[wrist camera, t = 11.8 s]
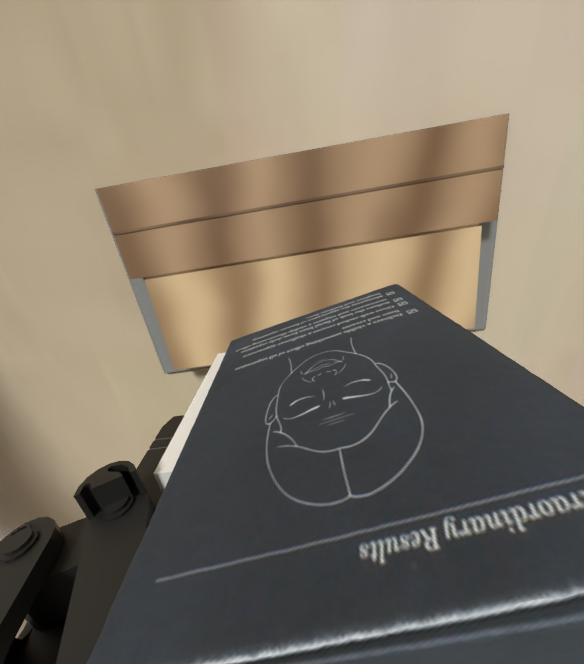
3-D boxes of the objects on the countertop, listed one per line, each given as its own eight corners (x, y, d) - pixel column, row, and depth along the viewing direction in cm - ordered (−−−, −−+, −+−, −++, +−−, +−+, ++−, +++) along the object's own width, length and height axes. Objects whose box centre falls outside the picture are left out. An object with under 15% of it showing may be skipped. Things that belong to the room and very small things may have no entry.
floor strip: (140, 275, 22) (129, 279, 21) (109, 190, 20) (95, 188, 19) (483, 219, 21) (497, 220, 19) (492, 120, 18) (509, 113, 17)
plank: (181, 361, 25) (174, 370, 24) (152, 273, 22) (143, 277, 21) (463, 322, 24) (474, 328, 22) (469, 222, 21) (482, 222, 19)
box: (275, 429, 15) (240, 828, 5) (229, 337, 13) (39, 705, 3) (424, 386, 14) (725, 786, 4) (400, 278, 12) (868, 568, 2)
